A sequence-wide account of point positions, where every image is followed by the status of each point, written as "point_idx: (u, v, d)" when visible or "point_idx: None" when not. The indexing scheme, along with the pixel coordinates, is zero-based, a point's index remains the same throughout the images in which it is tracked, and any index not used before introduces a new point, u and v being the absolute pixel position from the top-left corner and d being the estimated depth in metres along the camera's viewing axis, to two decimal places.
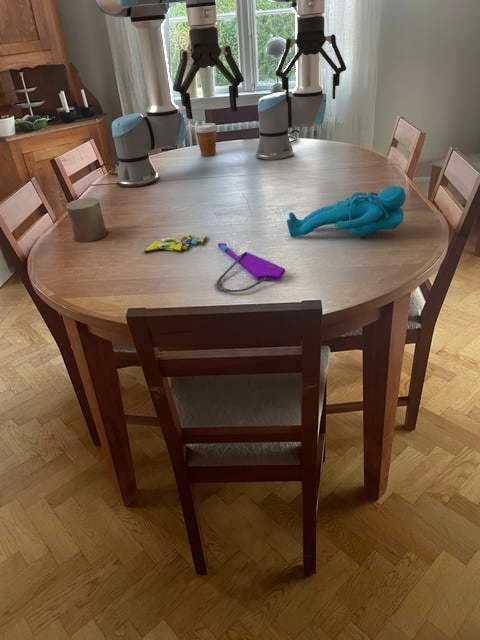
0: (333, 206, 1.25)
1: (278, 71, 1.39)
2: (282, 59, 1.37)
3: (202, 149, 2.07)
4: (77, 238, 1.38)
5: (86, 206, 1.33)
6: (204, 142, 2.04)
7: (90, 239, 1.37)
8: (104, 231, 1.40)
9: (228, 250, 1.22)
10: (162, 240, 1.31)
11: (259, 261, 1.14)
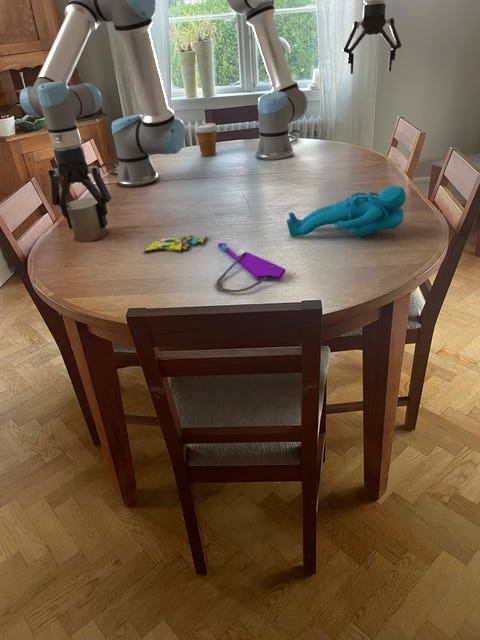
0: (333, 206, 1.25)
1: (346, 48, 1.72)
2: (350, 38, 1.71)
3: (202, 149, 2.07)
4: (77, 238, 1.38)
5: (86, 206, 1.33)
6: (204, 142, 2.04)
7: (90, 239, 1.37)
8: (104, 231, 1.40)
9: (228, 250, 1.22)
10: (162, 240, 1.31)
11: (259, 261, 1.14)
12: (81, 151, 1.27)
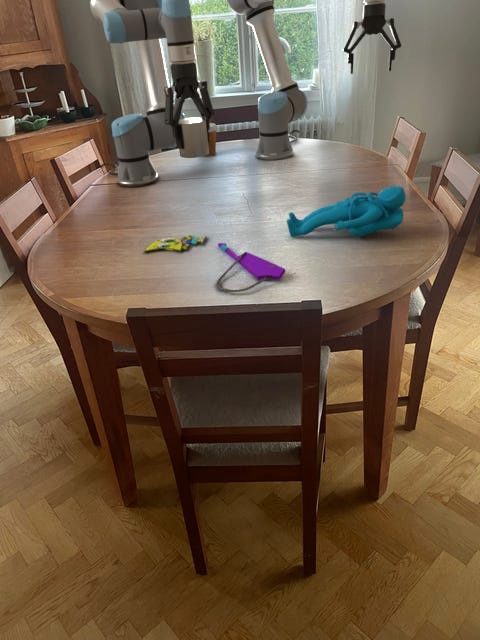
0: (333, 206, 1.25)
1: (346, 48, 1.72)
2: (350, 38, 1.71)
3: None
4: (194, 155, 1.45)
5: (202, 120, 1.43)
6: None
7: (206, 153, 1.46)
8: None
9: (228, 250, 1.22)
10: (162, 240, 1.31)
11: (259, 261, 1.14)
12: None
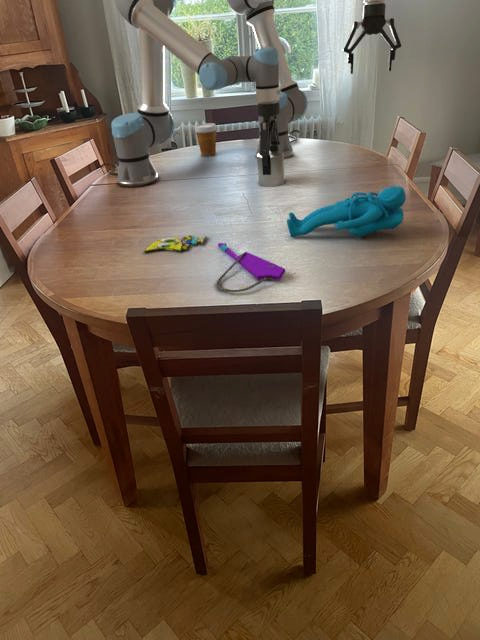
0: (333, 206, 1.25)
1: (346, 48, 1.72)
2: (350, 38, 1.71)
3: (202, 149, 2.07)
4: (280, 182, 1.67)
5: (279, 152, 1.66)
6: (204, 142, 2.04)
7: None
8: None
9: (228, 250, 1.22)
10: (162, 240, 1.31)
11: (259, 261, 1.14)
12: None
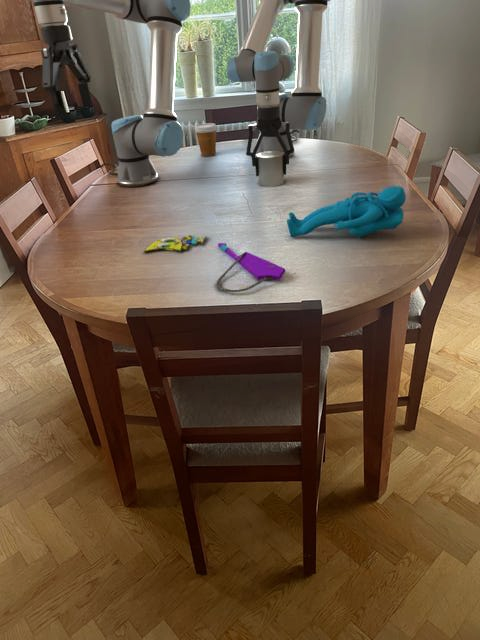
0: (333, 206, 1.25)
1: (248, 152, 1.64)
2: (249, 142, 1.62)
3: (202, 149, 2.07)
4: (280, 182, 1.67)
5: (279, 152, 1.66)
6: (204, 142, 2.04)
7: None
8: None
9: (228, 250, 1.22)
10: (162, 240, 1.31)
11: (259, 261, 1.14)
12: None
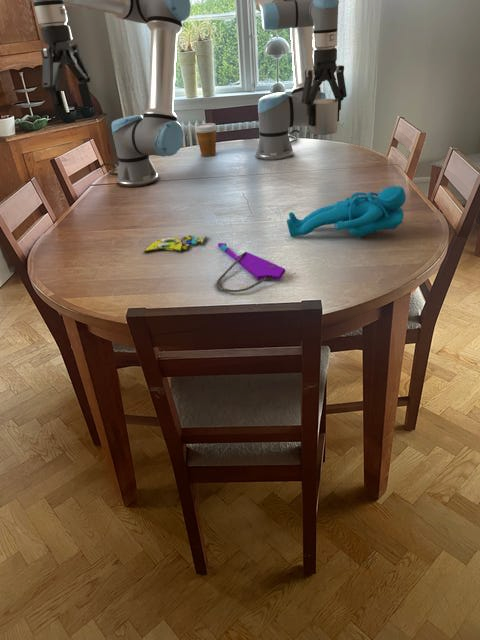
0: (333, 206, 1.25)
1: (307, 100, 1.56)
2: (308, 89, 1.55)
3: (202, 149, 2.07)
4: (336, 129, 1.64)
5: (329, 99, 1.63)
6: (204, 142, 2.04)
7: None
8: None
9: (228, 250, 1.22)
10: (162, 240, 1.31)
11: (259, 261, 1.14)
12: None
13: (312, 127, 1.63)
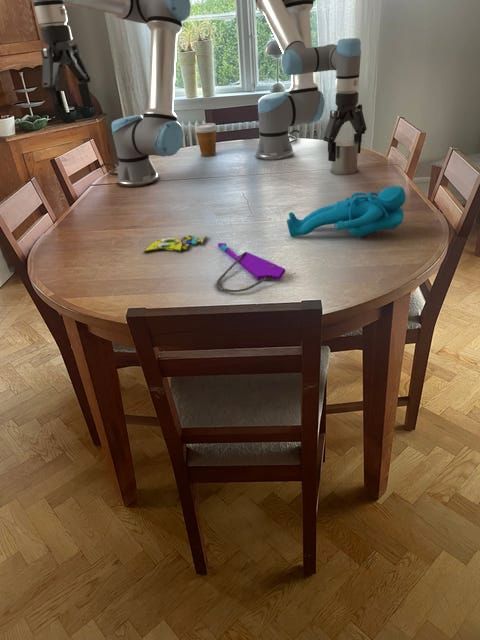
0: (333, 206, 1.25)
1: (330, 138, 1.62)
2: (332, 128, 1.61)
3: (202, 149, 2.07)
4: None
5: (347, 140, 1.72)
6: (204, 142, 2.04)
7: None
8: None
9: (228, 250, 1.22)
10: (162, 240, 1.31)
11: (259, 261, 1.14)
12: None
13: (335, 167, 1.72)
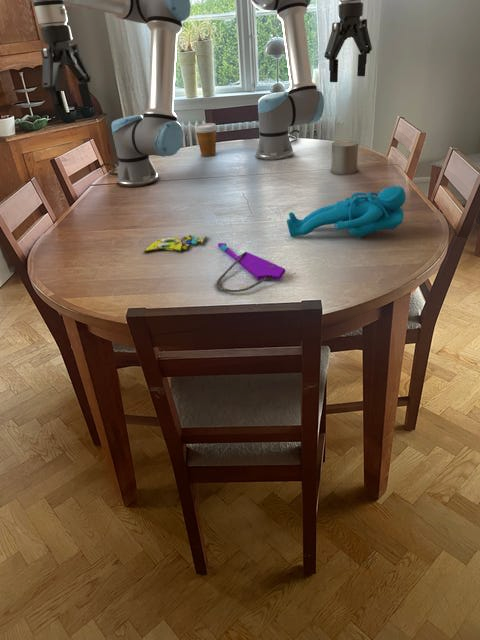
0: (333, 206, 1.25)
1: (332, 53, 1.49)
2: (335, 42, 1.48)
3: (202, 149, 2.07)
4: None
5: (347, 140, 1.72)
6: (204, 142, 2.04)
7: None
8: None
9: (228, 250, 1.22)
10: (162, 240, 1.31)
11: (259, 261, 1.14)
12: None
13: (335, 167, 1.72)
